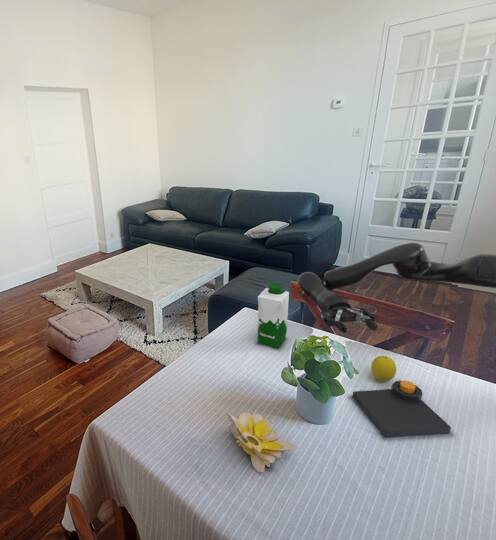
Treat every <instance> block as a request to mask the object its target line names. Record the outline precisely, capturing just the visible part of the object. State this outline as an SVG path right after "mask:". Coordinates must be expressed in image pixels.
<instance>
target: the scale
mask: <svg viewBox="0 0 496 540" xmlns="http://www.w3.org/2000/svg"><path fill="white" fill-rule="evenodd" d="M401 381H402V380H395V381H394V382H392V383H391V388H385V389H384V388H383V389H372V390H371V389H370V390H369V389H368V390H357V391H355V390H354V391H352V395H351V398H352V399H353V401H355V403H356V404H357V405H358V406H359V408H360V409H361V410H362V411H363V413H365V415H366V416H367V417H368V418H369V420H370V421H371V422H372V424H374V426H375V427H376V429H378V431H379V432H380V433H381V434H382V436H383V437H384V438H399V437H415V436H416V437H417V436H428V435H429V436H430V435H431V436H432V435H446V434H450V432H451V428H452V426H450V424H448V422H446V421H445V420H444V419H443V418H442V417H441V416H439V414H438V413H437V412H435V411H434V410H433V409H432V408H431V407H430V406H428V405H427V403H425V402H424V401H423V399H422V397H423V389H421V388H420V387H419V386H418V385H417V384H414V385H415V392H414V393H411V394H410V393H406V392H403V391H401V390H400V388H399V387H400V382H401Z"/></svg>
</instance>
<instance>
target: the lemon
mask: <svg viewBox="0 0 496 540" xmlns="http://www.w3.org/2000/svg"><path fill="white" fill-rule="evenodd" d="M370 371H371V373H372V376H373V377H374V378H375V379H377V380H379V381H380V382H390V381H391V380H393V379H394V378H395V376H396V375H397V365H396V362H395V361H394V359H392V358H391V357H389V356H388V355H379V356H376V357H375V358H373V360H372V361H371V365H370Z"/></svg>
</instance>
